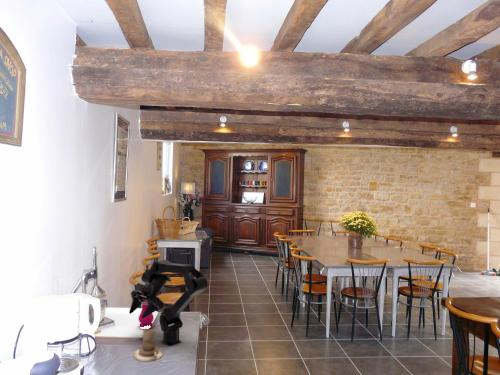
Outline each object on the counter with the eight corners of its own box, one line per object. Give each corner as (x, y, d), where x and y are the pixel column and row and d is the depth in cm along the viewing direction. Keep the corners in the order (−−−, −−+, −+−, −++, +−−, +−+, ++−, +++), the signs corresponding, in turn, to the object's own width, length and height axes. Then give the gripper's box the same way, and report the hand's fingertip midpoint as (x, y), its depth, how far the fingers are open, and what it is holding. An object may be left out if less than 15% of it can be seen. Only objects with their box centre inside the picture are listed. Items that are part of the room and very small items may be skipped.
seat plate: (154, 346, 182) (154, 340, 182) (168, 355, 173) (168, 348, 173) (128, 354, 174) (128, 347, 174) (142, 364, 165) (142, 356, 165)
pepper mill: (149, 330, 201) (150, 290, 200) (135, 329, 202) (136, 289, 201) (155, 325, 208) (156, 286, 207) (142, 324, 209) (143, 285, 209)
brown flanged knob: (151, 346, 179) (152, 326, 179) (162, 352, 173) (162, 331, 173) (135, 352, 173) (135, 331, 173) (145, 358, 168) (146, 336, 167)
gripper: (134, 272, 192) (112, 301, 183) (159, 279, 180) (137, 310, 172) (147, 286, 198) (127, 314, 190) (172, 293, 186) (152, 324, 178)
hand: (135, 315), depth 182 cm, fingers open, 9 cm apart
